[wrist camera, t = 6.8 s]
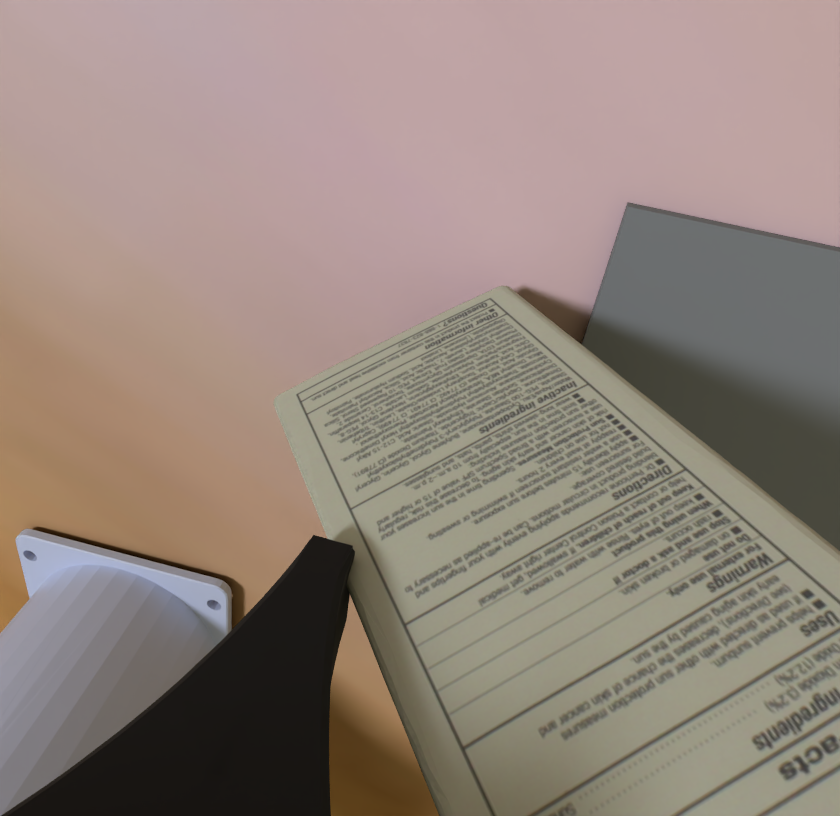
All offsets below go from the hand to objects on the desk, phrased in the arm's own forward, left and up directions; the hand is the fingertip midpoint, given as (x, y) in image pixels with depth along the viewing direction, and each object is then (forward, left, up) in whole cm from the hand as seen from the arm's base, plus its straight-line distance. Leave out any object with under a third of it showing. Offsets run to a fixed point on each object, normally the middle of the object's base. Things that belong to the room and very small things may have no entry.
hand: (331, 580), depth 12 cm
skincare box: (0, 0, -7) cm, 7 cm away
